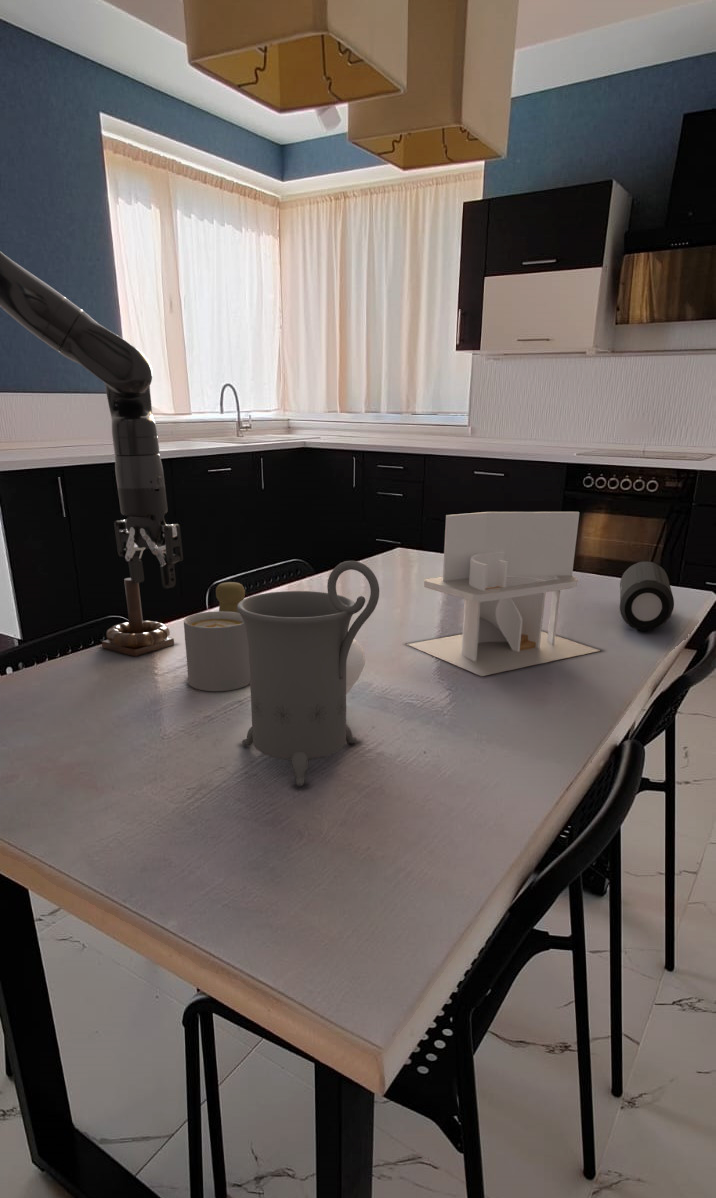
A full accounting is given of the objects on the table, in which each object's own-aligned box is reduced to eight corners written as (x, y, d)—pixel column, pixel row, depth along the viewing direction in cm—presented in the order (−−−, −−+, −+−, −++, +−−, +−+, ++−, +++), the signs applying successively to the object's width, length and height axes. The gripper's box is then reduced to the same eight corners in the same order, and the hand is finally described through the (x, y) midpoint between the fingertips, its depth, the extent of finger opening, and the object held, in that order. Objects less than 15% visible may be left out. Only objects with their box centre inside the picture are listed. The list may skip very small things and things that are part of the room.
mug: (209, 766, 93) (193, 559, 83) (273, 725, 106) (266, 539, 96) (347, 799, 86) (348, 576, 76) (399, 750, 98) (405, 552, 88)
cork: (210, 645, 140) (206, 585, 136) (225, 636, 145) (222, 578, 141) (241, 648, 138) (238, 587, 134) (255, 639, 144) (252, 580, 139)
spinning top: (346, 719, 107) (346, 636, 103) (301, 709, 111) (300, 628, 106) (374, 703, 114) (375, 624, 109) (330, 693, 117) (330, 616, 112)
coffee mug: (229, 695, 116) (225, 630, 112) (175, 685, 120) (170, 623, 116) (274, 669, 127) (272, 610, 123) (223, 661, 131) (220, 604, 127)
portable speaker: (617, 602, 173) (623, 557, 169) (663, 606, 170) (671, 560, 166) (616, 631, 151) (623, 581, 147) (670, 636, 148) (679, 584, 144)
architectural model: (481, 676, 125) (492, 529, 116) (406, 644, 142) (410, 513, 132) (600, 650, 139) (619, 517, 130) (519, 624, 155) (530, 504, 146)
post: (102, 647, 138) (93, 579, 133) (141, 636, 145) (134, 571, 140) (135, 656, 133) (127, 586, 129) (174, 644, 140) (168, 578, 135)
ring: (94, 641, 137) (93, 628, 136) (142, 628, 145) (141, 616, 144) (135, 652, 132) (133, 639, 131) (182, 638, 140) (181, 625, 139)
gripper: (94, 484, 126) (108, 584, 132) (152, 487, 118) (164, 593, 125) (131, 481, 132) (143, 577, 138) (188, 483, 124) (199, 585, 130)
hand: (153, 584), depth 131 cm, fingers open, 7 cm apart
